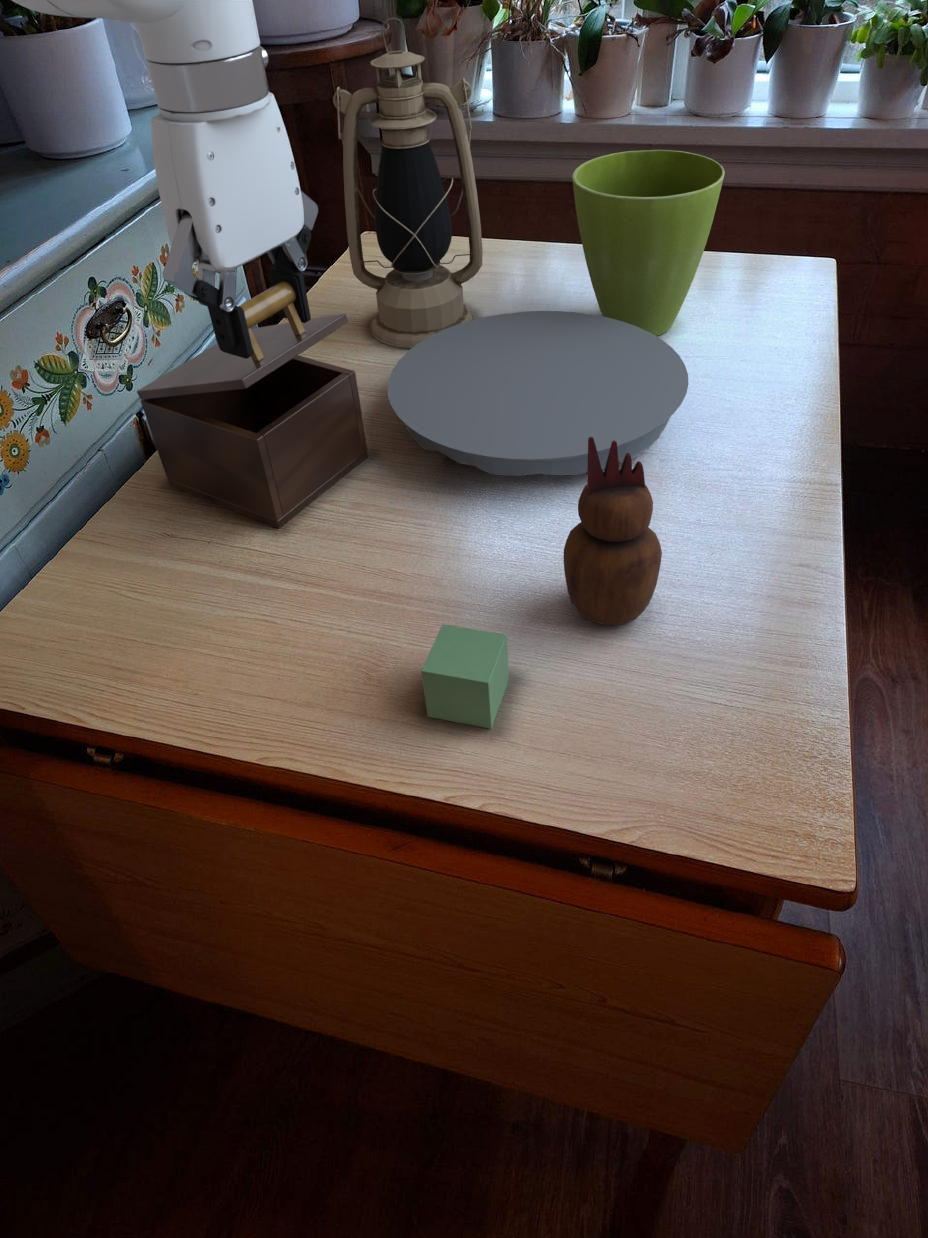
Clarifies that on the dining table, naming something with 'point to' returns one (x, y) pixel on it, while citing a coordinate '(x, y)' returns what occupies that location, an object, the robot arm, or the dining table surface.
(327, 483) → the chest
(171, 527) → the dining table surface
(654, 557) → the wooden figurine
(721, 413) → the dining table surface
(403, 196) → the lantern
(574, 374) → the flat disc
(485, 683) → the block
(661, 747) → the dining table surface
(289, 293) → the lid
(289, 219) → the robot arm
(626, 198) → the flower pot
